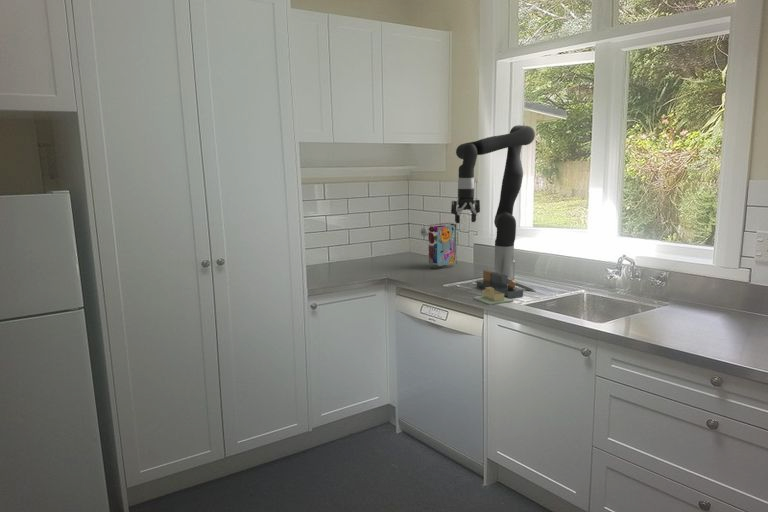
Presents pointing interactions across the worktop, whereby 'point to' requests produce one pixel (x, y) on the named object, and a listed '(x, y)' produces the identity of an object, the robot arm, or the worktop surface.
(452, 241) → the box
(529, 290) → the caliper
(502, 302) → the mat
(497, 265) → the robot arm
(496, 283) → the hand plane
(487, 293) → the lever cap
